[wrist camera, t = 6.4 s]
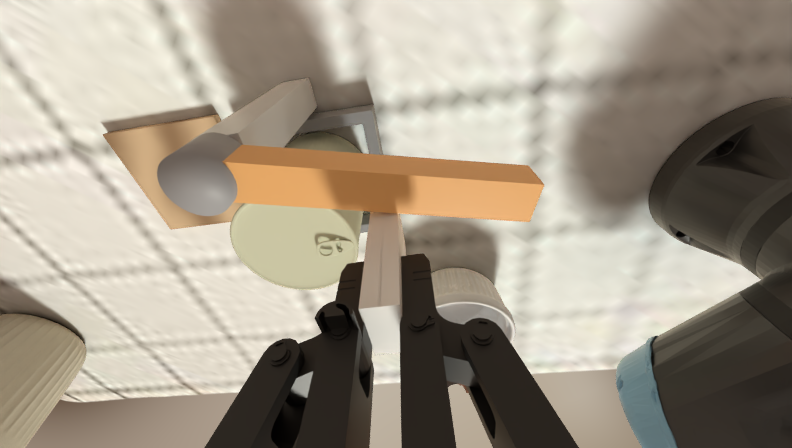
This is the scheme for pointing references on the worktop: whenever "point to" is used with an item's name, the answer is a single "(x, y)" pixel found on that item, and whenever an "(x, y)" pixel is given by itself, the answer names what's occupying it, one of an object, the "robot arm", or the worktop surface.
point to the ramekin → (470, 299)
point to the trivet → (144, 155)
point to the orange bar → (343, 181)
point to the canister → (33, 373)
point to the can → (298, 233)
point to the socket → (294, 120)
